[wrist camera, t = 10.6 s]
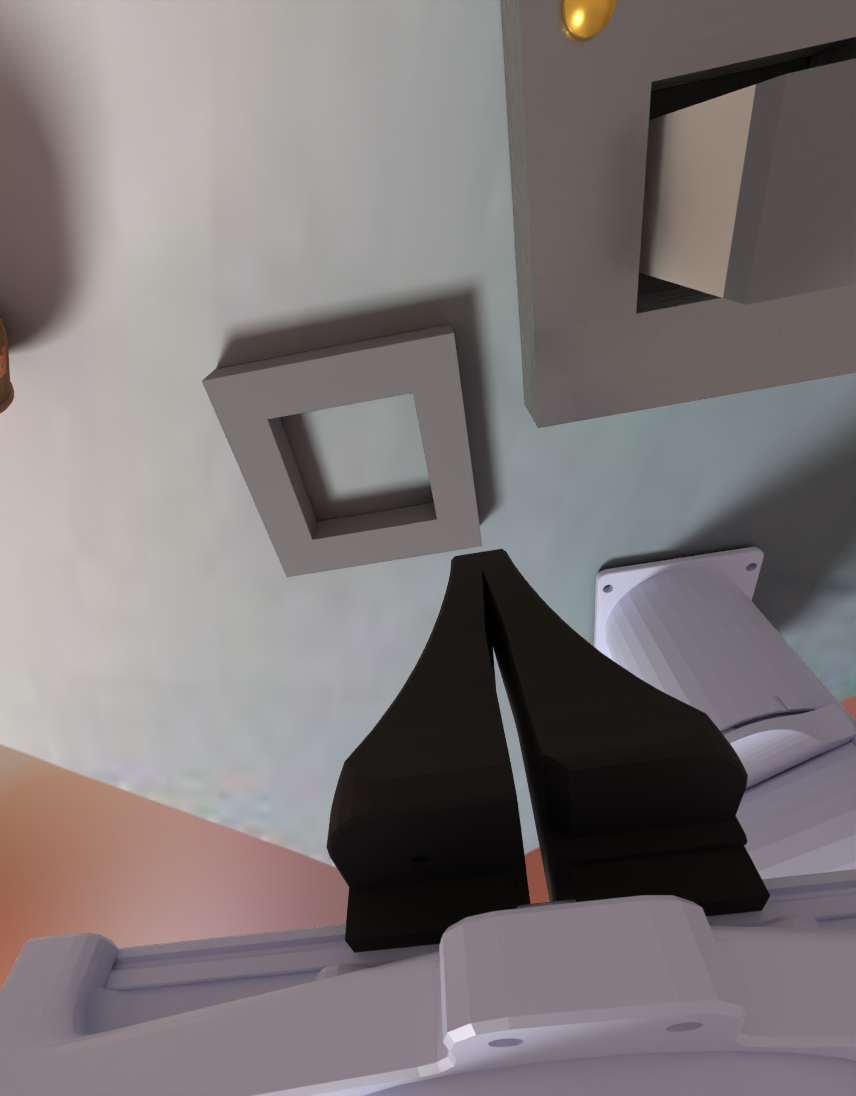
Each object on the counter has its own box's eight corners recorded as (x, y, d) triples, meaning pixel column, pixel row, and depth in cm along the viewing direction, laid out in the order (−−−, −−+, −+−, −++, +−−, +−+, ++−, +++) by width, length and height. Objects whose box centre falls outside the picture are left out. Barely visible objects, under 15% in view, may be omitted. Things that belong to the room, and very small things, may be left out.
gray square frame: (478, 527, 23) (482, 545, 22) (292, 557, 24) (286, 577, 23) (451, 323, 18) (453, 332, 17) (215, 369, 19) (202, 380, 17)
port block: (836, 349, 19) (895, 368, 17) (524, 404, 20) (539, 431, 18) (983, -156, 12) (1118, -239, 10) (498, -38, 13) (518, -89, 11)
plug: (751, 247, 17) (925, 270, 11) (633, 270, 17) (745, 304, 12) (778, 92, 15) (1014, 23, 9) (641, 122, 15) (786, 73, 9)
